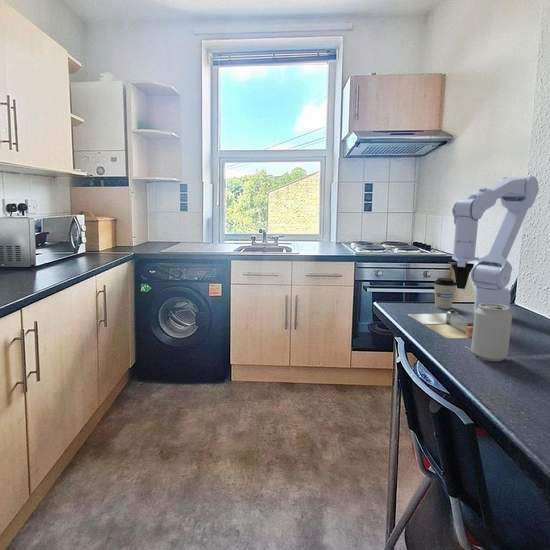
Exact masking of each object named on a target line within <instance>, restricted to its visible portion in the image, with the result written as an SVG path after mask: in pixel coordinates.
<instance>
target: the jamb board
mask: <svg viewBox="0 0 550 550" xmlns="http://www.w3.org/2000/svg"><path fill="white" fill-rule="evenodd" d="M449 311H450V312H453V313H454V312H456V309H449ZM406 315H408V316H409V317H410V318H412V319H414V320H416V321H417V322H418V323H421V324H423V325H424V326H425V327H428V328H429V329H431V330H432V331H434V332H435V333H437V334H438V335H440V336H442V337H444V338H445V339H446V340H447V339H448V340H449V339H472V335H473V326H466V333H465V332H463V331H461V330H459V329H457V328H456V327H454V326H452V325H450V324H447V323H446V313H408V314H407V313H406Z"/></svg>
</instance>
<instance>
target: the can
mask: <svg viewBox="0 0 550 550" xmlns="http://www.w3.org/2000/svg"><path fill="white" fill-rule="evenodd" d="M510 309H511V308H509V307H507V306H505V305H501V304H495V303H481V304H479V308H477V309H476V310H475V312H474V315H473V317H474V318H473V321H474V325H473V335H472V338H471V345H470V346H471V347H470V351H471V353H472V354H474V355H476V356H475V357H476V358H478V359H480V360H483V361H488V362H502V361H503V360H505V359H506V358H508V356H509V348H510V347H509V346H510V338H511V330H512V322H513V321H512V320H513V314H512V313H511V312H510Z"/></svg>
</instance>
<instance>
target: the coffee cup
mask: <svg viewBox="0 0 550 550" xmlns="http://www.w3.org/2000/svg"><path fill="white" fill-rule="evenodd" d="M433 284H434V286H433V288H434V306H435V308H437V309H443V310H447V309H449V310H450V309H451V308H452V306H453V305H452V304H453V299H454V296H455V291H456V288H457V286H456V281H454V279H453V278H450V277H437V279H435V280H434V281H433Z"/></svg>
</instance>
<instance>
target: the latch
mask: <svg viewBox="0 0 550 550" xmlns="http://www.w3.org/2000/svg"><path fill="white" fill-rule="evenodd" d="M446 323H447V324H450V325H452V326H454V327H456V328H457V329H459V330H461V331H463V332H465V333H466V326H473V325H474V320H471V319H469V318H467V317H465V316H463V315H460V314H459V312H458V311H455V312H454V313H453V312H450V310H447V311H446Z"/></svg>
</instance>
